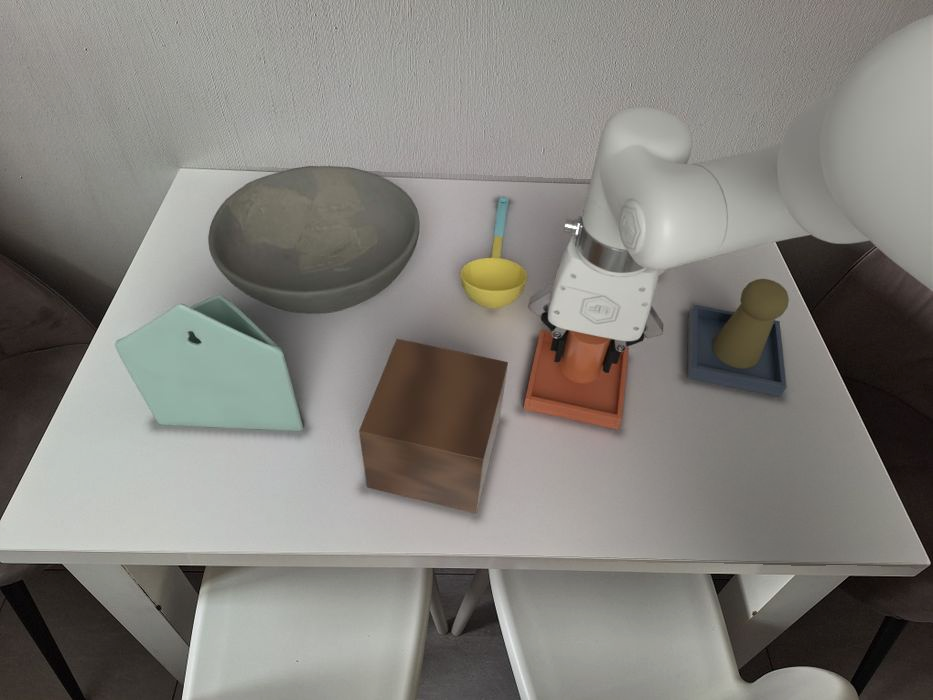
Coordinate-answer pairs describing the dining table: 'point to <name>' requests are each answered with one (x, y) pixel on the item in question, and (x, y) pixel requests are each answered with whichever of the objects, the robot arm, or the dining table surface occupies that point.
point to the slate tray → (711, 369)
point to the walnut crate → (433, 424)
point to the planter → (211, 369)
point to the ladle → (494, 271)
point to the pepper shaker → (751, 324)
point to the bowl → (314, 237)
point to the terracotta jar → (583, 356)
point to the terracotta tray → (575, 389)
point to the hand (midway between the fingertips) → (582, 357)
